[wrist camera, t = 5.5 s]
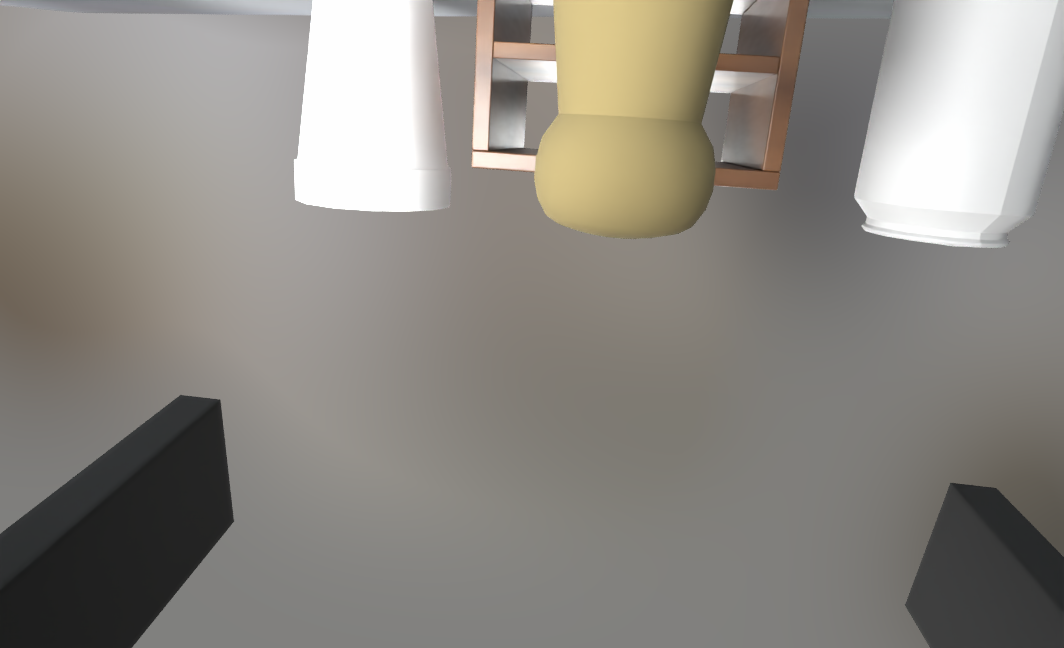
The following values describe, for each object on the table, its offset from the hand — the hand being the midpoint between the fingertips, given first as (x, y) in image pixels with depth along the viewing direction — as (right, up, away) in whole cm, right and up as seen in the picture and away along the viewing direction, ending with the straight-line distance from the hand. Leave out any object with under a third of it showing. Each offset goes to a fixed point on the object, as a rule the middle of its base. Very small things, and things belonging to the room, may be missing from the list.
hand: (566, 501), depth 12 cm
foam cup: (-10, +24, +25) cm, 36 cm away
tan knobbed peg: (+3, +17, +4) cm, 17 cm away
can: (+20, +19, +16) cm, 32 cm away
